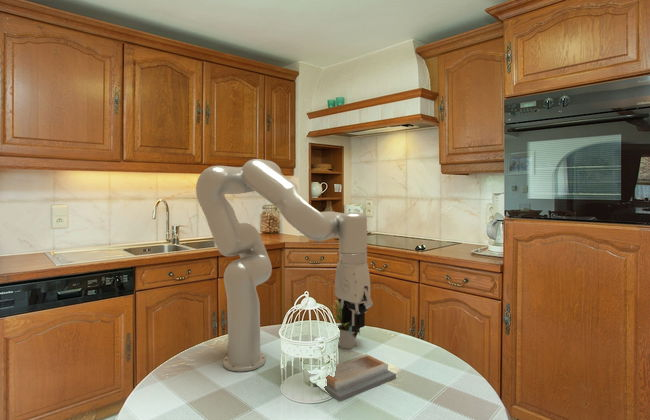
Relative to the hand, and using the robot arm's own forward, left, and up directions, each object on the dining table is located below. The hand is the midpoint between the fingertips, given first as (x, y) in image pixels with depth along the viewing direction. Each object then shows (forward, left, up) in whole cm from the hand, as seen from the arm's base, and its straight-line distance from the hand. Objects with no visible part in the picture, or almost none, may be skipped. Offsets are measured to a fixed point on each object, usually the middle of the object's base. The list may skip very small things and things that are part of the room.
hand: (353, 324), depth 108 cm
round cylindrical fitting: (0, 0, -3) cm, 3 cm away
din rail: (0, 0, -14) cm, 14 cm away
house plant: (-18, +14, -16) cm, 28 cm away
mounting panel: (0, 0, -15) cm, 15 cm away
